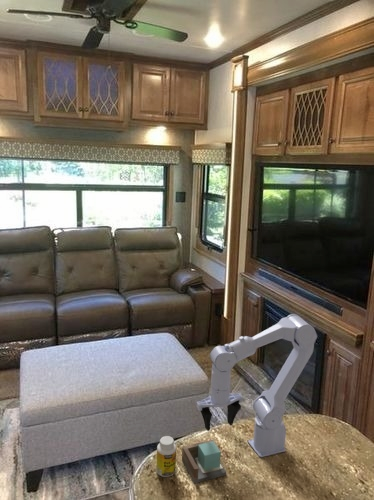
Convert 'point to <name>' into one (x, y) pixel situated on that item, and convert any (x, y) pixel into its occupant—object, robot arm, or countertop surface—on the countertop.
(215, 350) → the robot arm
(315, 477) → the countertop surface
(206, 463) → the teal block
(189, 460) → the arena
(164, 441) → the supplement bottle
